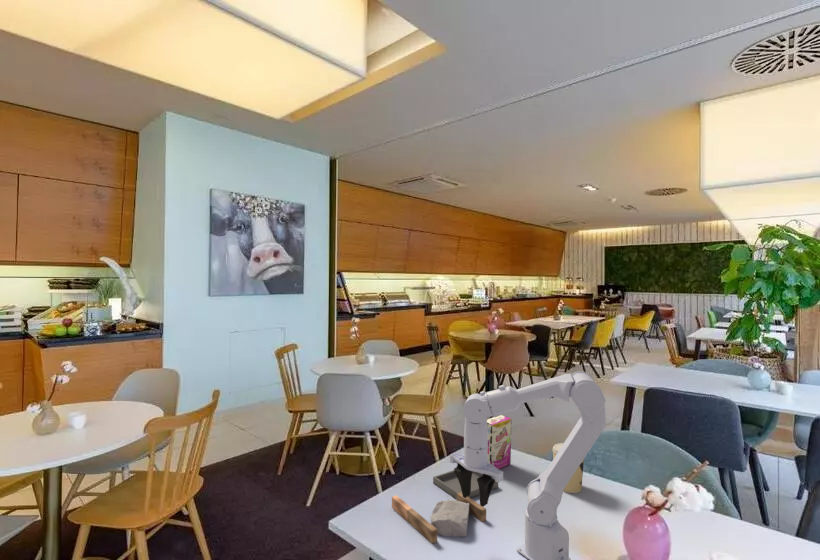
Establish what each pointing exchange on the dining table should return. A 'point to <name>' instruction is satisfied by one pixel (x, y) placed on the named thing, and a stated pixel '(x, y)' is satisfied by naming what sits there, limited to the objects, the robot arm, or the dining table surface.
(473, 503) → the pair of wooden bars
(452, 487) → the tray
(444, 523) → the stone block
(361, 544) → the dining table surface
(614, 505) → the dining table surface
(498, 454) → the candy bar box
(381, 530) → the dining table surface
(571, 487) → the coffee cup
